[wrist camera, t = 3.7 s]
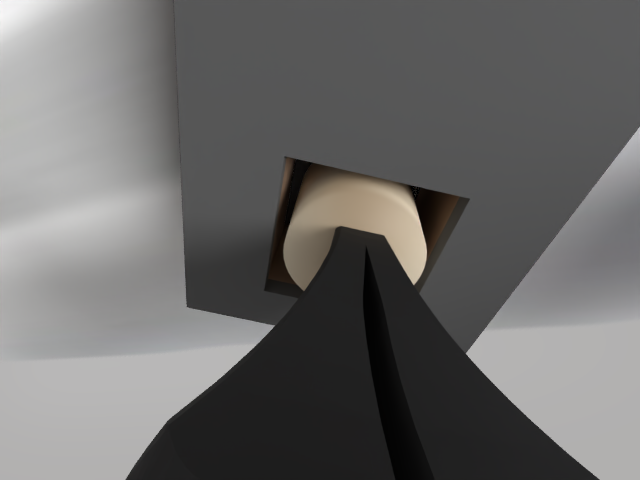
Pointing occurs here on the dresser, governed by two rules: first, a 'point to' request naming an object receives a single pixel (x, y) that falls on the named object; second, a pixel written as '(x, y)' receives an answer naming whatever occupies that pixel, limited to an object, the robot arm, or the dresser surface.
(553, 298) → the dresser surface
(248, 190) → the block
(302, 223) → the peg
